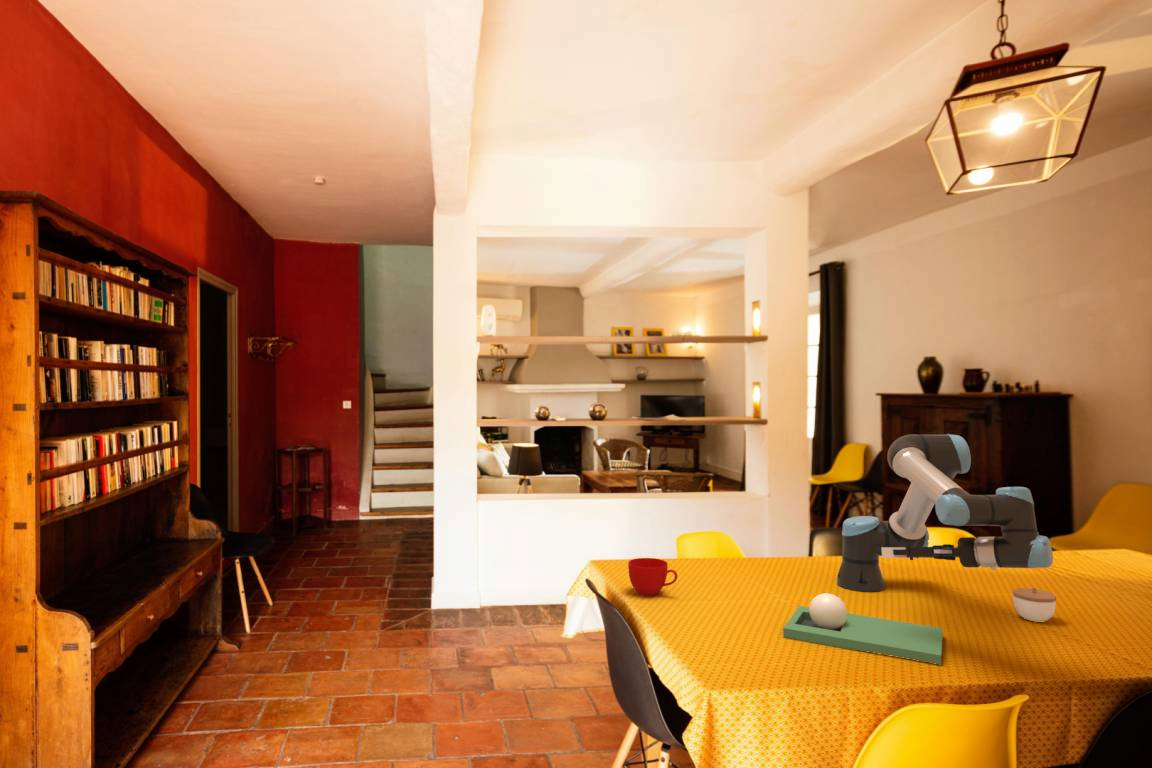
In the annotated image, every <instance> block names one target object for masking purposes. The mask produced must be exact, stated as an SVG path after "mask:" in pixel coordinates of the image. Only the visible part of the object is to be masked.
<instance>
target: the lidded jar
mask: <svg viewBox="0 0 1152 768" xmlns="http://www.w3.org/2000/svg"><path fill="white" fill-rule="evenodd" d="M1012 598H1013V599H1012V601H1013V605H1014V609H1015V610H1016V612H1017V614H1018V615H1019V616H1021V618H1022V617H1023V618H1025V619H1028V620H1033V621H1047V622H1048V621H1049V620H1050V619H1051V618H1052V617H1053V616H1054V614H1055V611H1056V603H1057V602H1056V601H1057V595H1055V594H1054V593H1052V592H1049V591H1046V590H1041V589H1038V588H1037V587H1034V586H1033V587H1031V588H1030V587H1028V588H1027V587H1020V588H1019V587H1017V588H1013V590H1012ZM1023 618H1022V619H1023Z"/></svg>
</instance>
